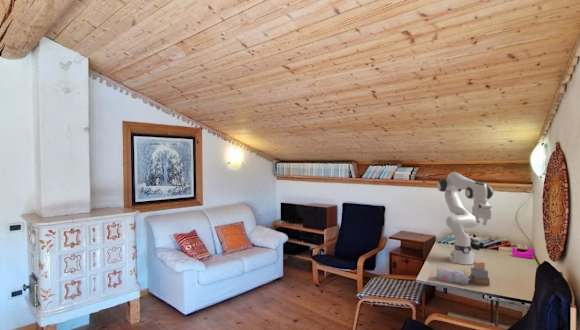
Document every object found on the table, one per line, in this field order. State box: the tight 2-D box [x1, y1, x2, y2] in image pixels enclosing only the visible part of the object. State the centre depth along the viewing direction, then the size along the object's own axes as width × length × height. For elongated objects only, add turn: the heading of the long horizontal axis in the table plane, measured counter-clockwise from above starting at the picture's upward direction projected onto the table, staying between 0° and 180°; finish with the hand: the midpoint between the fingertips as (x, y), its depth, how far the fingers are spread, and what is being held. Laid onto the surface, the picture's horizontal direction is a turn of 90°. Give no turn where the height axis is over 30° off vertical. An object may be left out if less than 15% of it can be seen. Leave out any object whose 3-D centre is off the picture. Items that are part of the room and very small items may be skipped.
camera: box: [470, 237, 485, 251], centre depth 322 cm, size 15×11×10 cm
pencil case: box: [436, 267, 470, 286], centre depth 234 cm, size 21×9×10 cm, turn 60°
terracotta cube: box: [473, 260, 486, 270], centre depth 231 cm, size 5×5×5 cm
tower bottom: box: [469, 273, 491, 286], centre depth 231 cm, size 9×9×5 cm
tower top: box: [470, 266, 489, 278], centre depth 231 cm, size 8×8×5 cm
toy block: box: [511, 246, 534, 259], centre depth 294 cm, size 15×6×8 cm, turn 61°
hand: (481, 223), depth 241 cm, fingers open, 8 cm apart
